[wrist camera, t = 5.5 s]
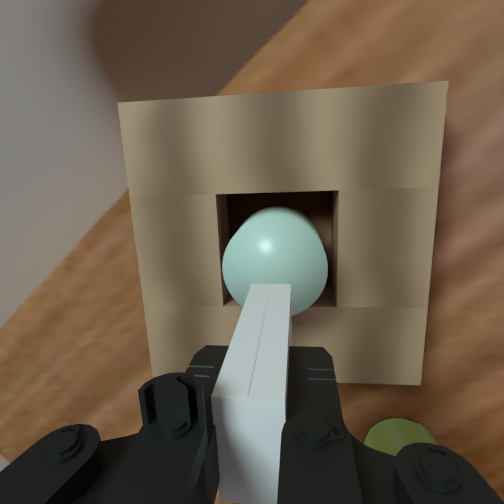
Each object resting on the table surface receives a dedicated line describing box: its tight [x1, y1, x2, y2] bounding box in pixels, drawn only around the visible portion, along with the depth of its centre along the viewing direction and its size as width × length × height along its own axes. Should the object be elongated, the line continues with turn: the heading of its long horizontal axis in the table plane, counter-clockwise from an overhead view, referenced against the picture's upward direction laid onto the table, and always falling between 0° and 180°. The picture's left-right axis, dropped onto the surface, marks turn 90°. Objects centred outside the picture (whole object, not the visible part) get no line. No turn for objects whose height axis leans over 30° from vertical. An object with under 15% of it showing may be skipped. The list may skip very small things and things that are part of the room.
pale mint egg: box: [222, 206, 328, 316], centre depth 22 cm, size 6×6×5 cm
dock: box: [118, 81, 448, 385], centre depth 26 cm, size 20×20×4 cm
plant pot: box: [363, 418, 439, 456], centre depth 27 cm, size 9×9×9 cm
